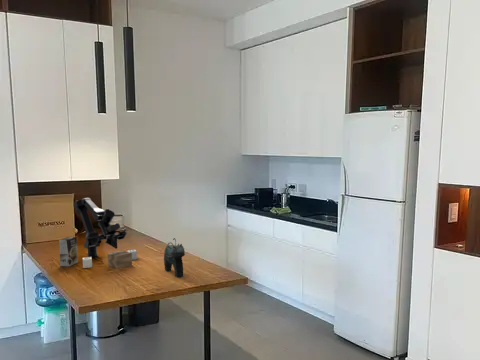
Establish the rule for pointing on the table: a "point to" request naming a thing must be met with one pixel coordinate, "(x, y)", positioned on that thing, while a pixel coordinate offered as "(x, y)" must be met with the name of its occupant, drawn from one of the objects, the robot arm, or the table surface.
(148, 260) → the table surface
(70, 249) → the coffee box
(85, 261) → the offwhite numeral block
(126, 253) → the plain walnut block
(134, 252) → the grey numeral block
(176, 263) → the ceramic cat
